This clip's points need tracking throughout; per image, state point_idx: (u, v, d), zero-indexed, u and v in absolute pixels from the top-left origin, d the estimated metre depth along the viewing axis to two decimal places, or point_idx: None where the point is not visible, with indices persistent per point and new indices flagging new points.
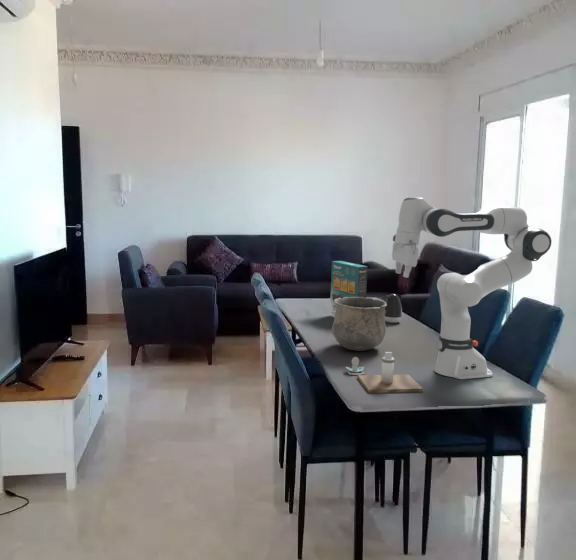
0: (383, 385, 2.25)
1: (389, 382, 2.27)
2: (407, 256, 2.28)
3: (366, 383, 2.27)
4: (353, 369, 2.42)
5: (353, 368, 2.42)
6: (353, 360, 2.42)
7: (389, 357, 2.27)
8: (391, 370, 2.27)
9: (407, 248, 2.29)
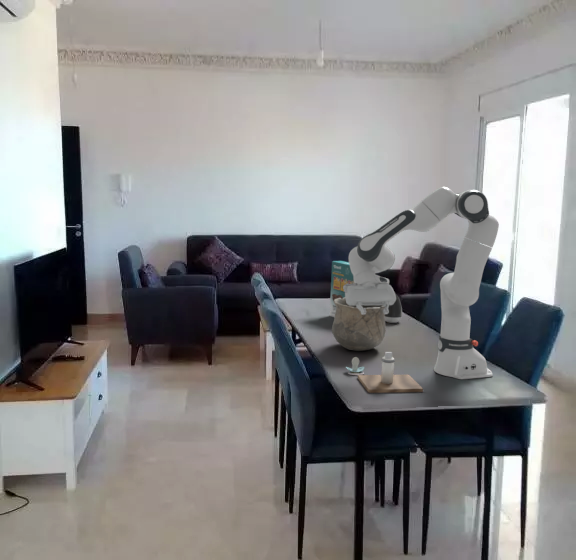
0: (383, 385, 2.25)
1: (389, 382, 2.27)
2: None
3: (366, 383, 2.27)
4: (353, 369, 2.42)
5: (353, 368, 2.42)
6: (353, 360, 2.42)
7: (389, 357, 2.27)
8: (391, 370, 2.27)
9: None
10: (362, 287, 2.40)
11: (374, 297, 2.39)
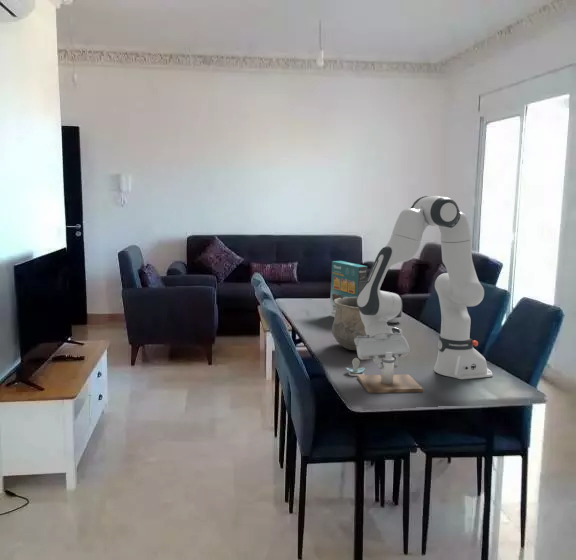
0: (383, 385, 2.25)
1: (389, 382, 2.27)
2: None
3: (366, 383, 2.27)
4: (354, 370, 2.41)
5: (354, 369, 2.41)
6: (354, 361, 2.41)
7: (389, 357, 2.27)
8: (391, 370, 2.27)
9: None
10: (374, 339, 2.31)
11: (387, 350, 2.30)
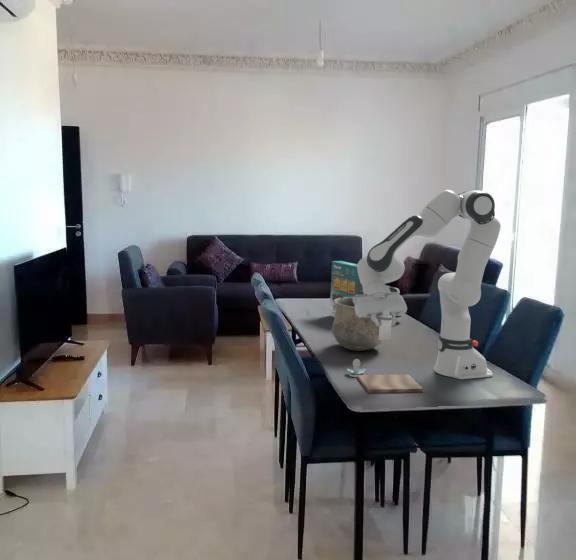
0: (383, 385, 2.25)
1: (386, 339, 2.31)
2: None
3: (366, 383, 2.27)
4: (354, 371, 2.40)
5: (354, 370, 2.40)
6: (354, 362, 2.40)
7: (387, 315, 2.31)
8: (388, 327, 2.30)
9: None
10: (372, 298, 2.35)
11: (384, 308, 2.34)
